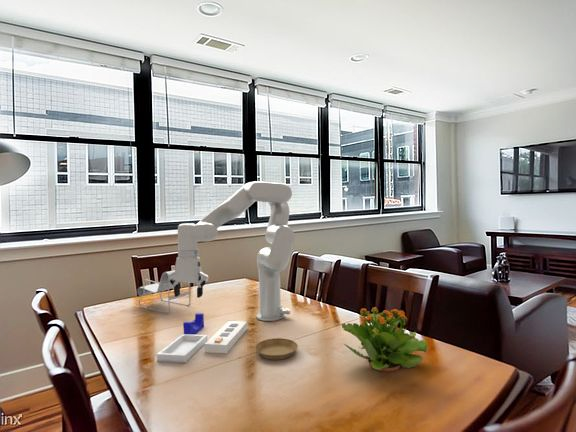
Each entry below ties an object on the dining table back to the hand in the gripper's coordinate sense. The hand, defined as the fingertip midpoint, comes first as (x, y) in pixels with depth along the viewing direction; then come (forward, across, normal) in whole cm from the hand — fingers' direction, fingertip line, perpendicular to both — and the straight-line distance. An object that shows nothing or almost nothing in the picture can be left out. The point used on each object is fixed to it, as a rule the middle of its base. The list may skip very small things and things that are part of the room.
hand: (188, 296), depth 145 cm
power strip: (+14, -19, +6) cm, 24 cm away
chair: (+15, +29, -32) cm, 46 cm away
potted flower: (+14, -75, +20) cm, 78 cm away
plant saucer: (+15, -40, +14) cm, 45 cm away
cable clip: (+15, -1, 0) cm, 15 cm away
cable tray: (+15, -7, +18) cm, 24 cm away
